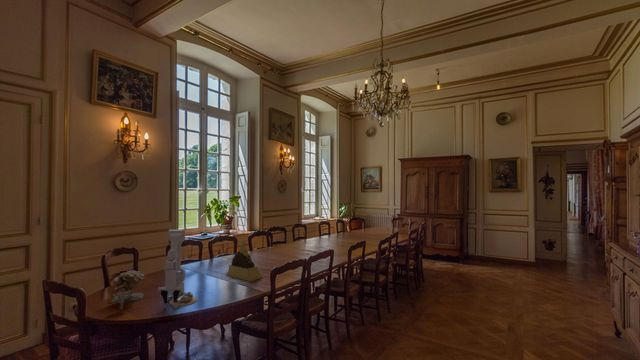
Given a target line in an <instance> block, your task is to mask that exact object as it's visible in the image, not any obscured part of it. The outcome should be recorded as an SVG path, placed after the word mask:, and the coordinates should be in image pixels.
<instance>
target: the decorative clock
mask: <svg viewBox="0 0 640 360" xmlns="http://www.w3.org/2000/svg"><path fill="white" fill-rule="evenodd" d="M246 243H247V240H246V239H243V240H242V242H241V243H240V245H239V251H237V252H236V253H235V255H234V256H233V258H232V260H231V264H229V265H228V270H227V271H226V276H227V277H231V278H236V279H241V280H244V281H248V282H252V281H256V280H258V279H261V278H263V276H264V275H263V274H262V273H261V272H260V271H259V268H258V265H255V263H254V261H253V260H252V256H251V254H250V253H249V249H248V248H247V246H246V245H247V244H246ZM246 248H247V249H246Z"/></svg>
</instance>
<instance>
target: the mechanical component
mask: <svg viewBox="0 0 640 360" xmlns="http://www.w3.org/2000/svg"><path fill="white" fill-rule="evenodd" d="M132 293H133V290H132V291H125V292H120V293H119V295H116V294H114V293H113V294H111V299H112V300H114V301H119V303H118V304H119V310H120V311H123V310H124V303H123V302H124V299H128V298H130V295H131V294H132ZM125 294H127V295H126V296H125ZM115 298H119V299H115Z"/></svg>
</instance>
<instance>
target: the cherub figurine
mask: <svg viewBox="0 0 640 360" xmlns="http://www.w3.org/2000/svg"><path fill="white" fill-rule="evenodd" d="M144 277H146V276H145V275H144V274H143V273H142V271H136V270H128V271H126V272H122V273H120V274H119V276H116V277H114V278H113V280H112V281H113V284H114V285H115V286H116V287H115V288H114V290H115V291H116V292H117V293H116V296H118V295H119V293H120V292H125V291H132V294H131V295H130V298H128V299H124V302H123V304H124V303H135V302H137V301H139V300H143V298H144V295H145V294H144V293H143V292H142V293H141V292H133V288H136V286H137V285H139V284H141V281H144V279H145V278H144ZM126 295H127V294H125V296H126ZM115 299H119V298H115ZM109 303H112V304H120V303H119V301H114V300H113V299H111V300H109Z"/></svg>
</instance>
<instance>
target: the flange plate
mask: <svg viewBox="0 0 640 360" xmlns="http://www.w3.org/2000/svg"><path fill="white" fill-rule="evenodd" d="M197 301H198V298H197V296H194V295H193V299H192V300H191V301H188V302H183V303H181V304H180V305H179V306H178V307H185V306H190V305H193V304H195V303H196V302H197ZM173 302H174V297H172V299H170V300H169V306H172V307H173Z"/></svg>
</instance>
